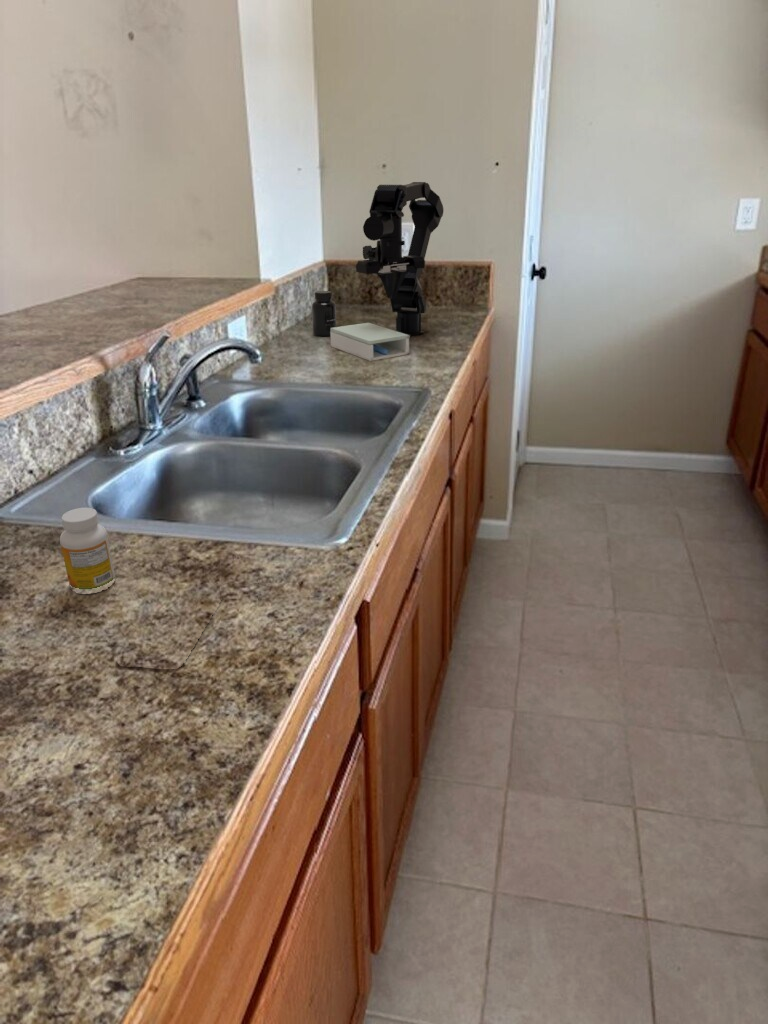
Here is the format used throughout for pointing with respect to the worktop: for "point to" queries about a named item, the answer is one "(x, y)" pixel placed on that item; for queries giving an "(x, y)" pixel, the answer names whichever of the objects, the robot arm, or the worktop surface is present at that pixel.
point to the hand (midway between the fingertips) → (391, 297)
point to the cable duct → (370, 347)
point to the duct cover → (369, 333)
